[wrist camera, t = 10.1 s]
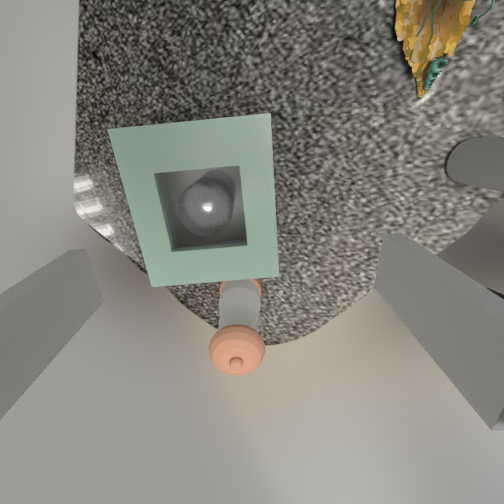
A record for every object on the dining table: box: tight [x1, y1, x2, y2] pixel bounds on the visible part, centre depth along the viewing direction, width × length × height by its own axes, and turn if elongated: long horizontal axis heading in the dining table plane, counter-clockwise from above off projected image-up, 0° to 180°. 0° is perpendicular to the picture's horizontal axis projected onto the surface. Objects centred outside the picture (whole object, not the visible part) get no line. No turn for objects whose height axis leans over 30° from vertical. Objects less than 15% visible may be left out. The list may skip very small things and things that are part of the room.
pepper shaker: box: [209, 278, 265, 375], centre depth 39 cm, size 7×7×19 cm
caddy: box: [107, 113, 279, 287], centre depth 35 cm, size 18×16×13 cm
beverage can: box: [447, 138, 504, 192], centre depth 34 cm, size 6×6×12 cm
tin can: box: [178, 171, 236, 236], centre depth 34 cm, size 6×6×12 cm
